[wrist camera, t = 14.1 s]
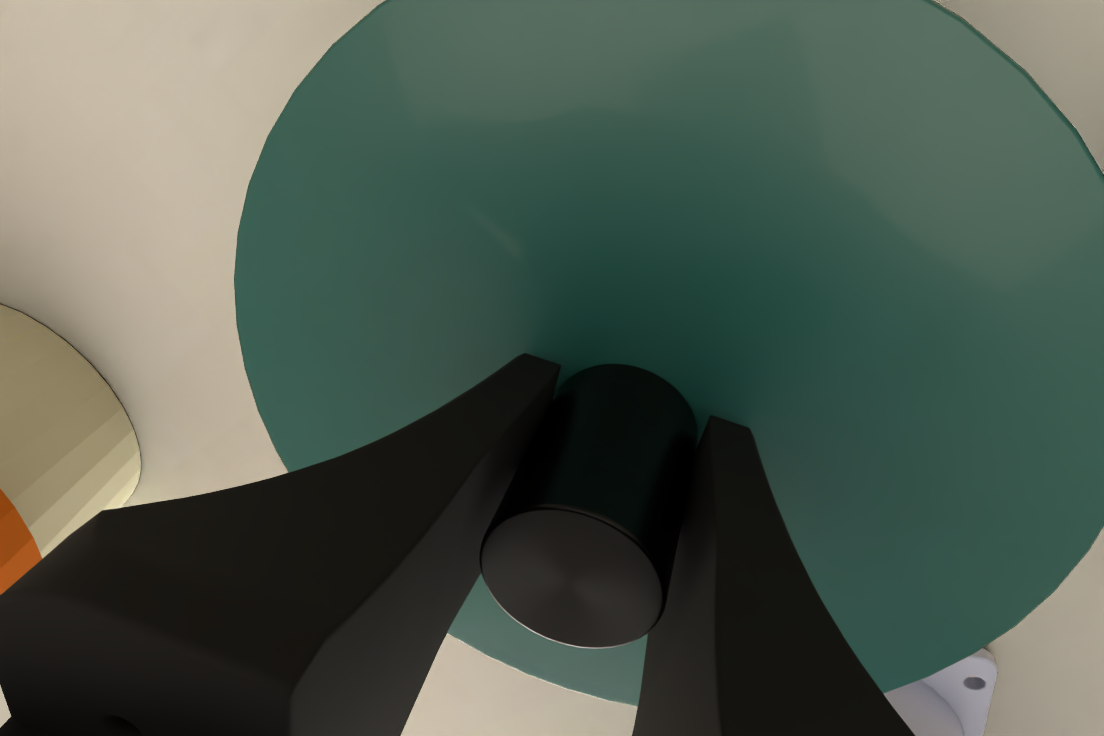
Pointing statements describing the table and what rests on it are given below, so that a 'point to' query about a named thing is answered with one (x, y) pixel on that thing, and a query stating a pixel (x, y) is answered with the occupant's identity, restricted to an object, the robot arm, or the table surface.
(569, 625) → the tin lid
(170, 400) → the table surface
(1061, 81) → the table surface
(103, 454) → the reusable coffee cup
